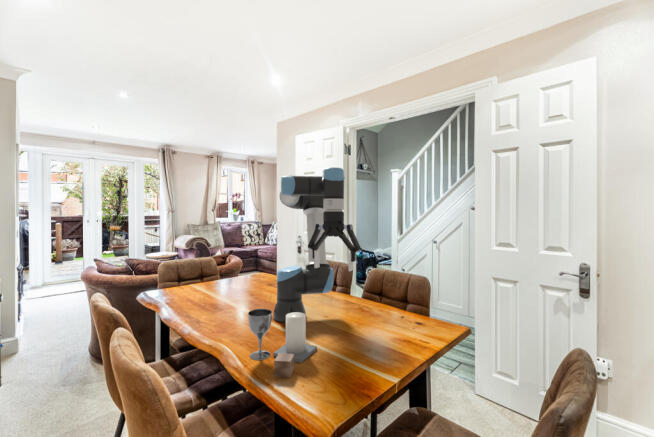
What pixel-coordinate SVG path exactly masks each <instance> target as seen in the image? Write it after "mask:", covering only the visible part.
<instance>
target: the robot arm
mask: <svg viewBox="0 0 654 437" xmlns="http://www.w3.org/2000/svg"><path fill="white" fill-rule="evenodd" d="M279 200H280V202H281V204H283V205H284V206H286V207H288V208H290V209H294V210H303V211H302V212H303V214H304V215H305V216H306V235H307V252H308V253H307V255H308V258H307V259H308V262H306V265H305V268H303V267H302V266H301V265H292V266H290V265H289V266H286V267H282V268H280V269H279V270H278V271H277V274H276V303H275V306H274V310H273V312H272V315H273V316H272V317H273V318H272V319H274V320H275V321H276V322H281V323H286V315H287V314H289V313H293V312H300V313H304V314H305V315H307V314H306V308H305V306H304V302H303V298H302V297H303V295H314V294H315V295H316V294H317V295H318V294H321V295H322V294H328V293H330V292H332V289H333V286H334V281H335V280H334V279H335V272H334V269H333V268H332V267H331V266H330V263H329V262H328V261H327V255H326V254H327V252H326V239H327V238H328V237H336V238H337V237H339V239H340V240H341V241H342V242H343V243H344V245H345V246H346V247H347V248H348V250H349V252H348V272H353V271H354V262H356V258H357V252H360V251H361V250H362V247H361V245H360V243H359V241H358V239H357V236H356V235H355V232H354V228H353V227H354V226H353V224H351V223H349V224H345V223H344V222H345V212H344V211H343V210H345V170H344V169H343V168H342V167H326V168H324V169H323V175H322V176H320V175H319V176H316V175H315V176H314V175H312V176H311V175H310V176H308V175H307V176H306V175H305V176H304V175H282V176H281V179H280V192H279ZM344 230H345V231H347V234H348V236H349V238H350V240H349V238H348V236H347V235H346V234H345V232H344Z"/></svg>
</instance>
